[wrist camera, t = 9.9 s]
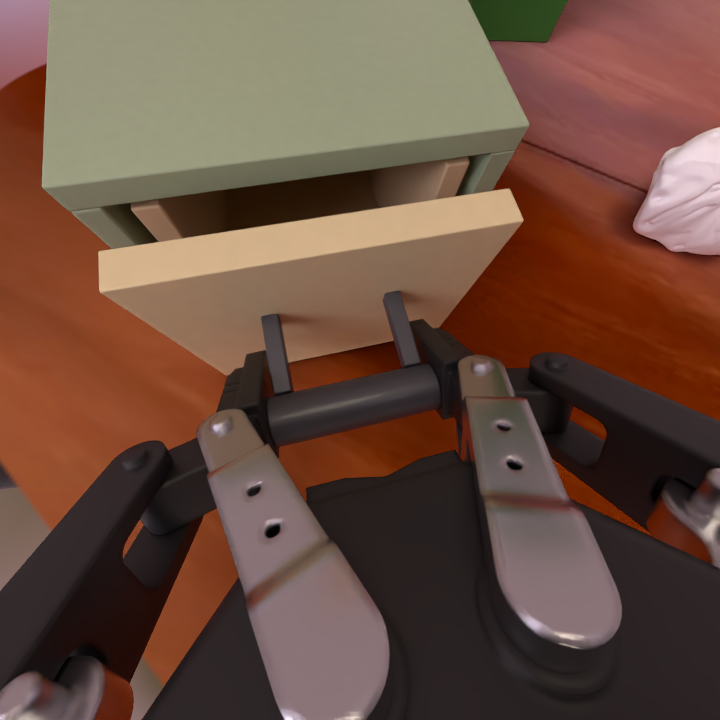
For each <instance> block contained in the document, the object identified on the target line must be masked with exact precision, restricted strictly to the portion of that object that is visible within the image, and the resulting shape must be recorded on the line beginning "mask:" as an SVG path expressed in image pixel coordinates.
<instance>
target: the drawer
mask: <svg viewBox="0 0 720 720" xmlns="http://www.w3.org/2000/svg"><path fill="white" fill-rule="evenodd" d="M468 166H469V159H468V156H467V157H460V158H452V159H445V160H438V161H431V162H423V163H416V164H409V165H402V166H394V167H387V168H380V169H372V170H365V171H358V172H351V173H343V174H336V175H329V176H322V177H314V178H307V179H300V180H293V181H285V182H278V183H271V184H264V185H256V186H249V187H242V188H235V189H227V190H220V191H213V192H206V193H198V194H191V195H184V196H176V197H169V198H162V199H155V200H147V201H140V202H133V203H131V210H132V212H133V213H134V214H135V215H136V216H137V217H138V218H139V220H140V221H141V222H142V223H143V224H144V225H145V226H146V228H147V229H148V230H149V231H150V232H151V233H152V234H153V236H154V237H155V238H156V239H157V240H158V241H159V242H155V243H149V244H142V245H136V246H129V247H123V248H116V249H110V250H103V251H99V291H100V293H102V294H103V295H105V296H106V297H108V298H109V299H111V300H112V301H114V302H115V303H117V304H118V305H120V306H121V307H123V308H124V309H126V310H127V311H129V312H131V313H132V314H134V315H135V316H137V317H138V318H140V319H141V320H143V321H144V322H146V323H147V324H149V325H150V326H152V327H153V328H155V329H156V330H158V331H159V332H161V333H162V334H164V335H165V336H167V337H169V338H170V339H172V340H173V341H175V342H176V343H178V344H179V345H181V346H182V347H184V348H185V349H187V350H188V351H190V352H191V353H193V354H194V355H196V356H197V357H199V358H200V359H202V360H203V361H205V362H207V363H208V364H210V365H211V366H213V367H214V368H216V369H217V370H219V371H220V372H222V373H223V374H225V375H230V374H231V373H232V372H233V371H234V370H235V369H237V368H242V367H243V366H244V362H245V358H246V354H248V353H253V352H258V351H263V350H266V352H267V358H268V365H269V371H270V377H271V383H272V389H273V394H274V395H275V396H273V397H269V398H268V399H267V405H266V409H267V419H268V425H269V429H270V433H271V437H272V439H273V442H274V444H275V445H276V446H277V447H281V446H285V445H289V444H293V443H298V442H302V441H306V440H310V439H314V438H319V437H323V436H327V435H331V434H335V433H340V432H344V431H348V430H352V429H356V428H361V427H365V426H369V425H373V424H377V423H382V422H386V421H390V420H394V419H398V418H403V417H407V416H411V415H415V414H419V413H424V412H428V411H432V410H436V409H438V408H439V407H440V405H441V390H440V385H439V381H438V378H437V376H436V373H435V371H434V370H433V368H432V367H431V366H430V365H429V364H427V363H424V364H420V363H421V360H420V357H419V353H418V350H417V347H416V343H415V340H414V336H413V333H412V330H411V326H410V323H409V321H414V320H419V319H424V320H425V321H426V322H427V323H428V324H429V325H430V326H431V327H432V328H439V327H440V326H441V324H442V323H443V322H444V321H445V319H446V318H447V317H448V316H449V314H450V313H451V312H452V311H453V309H454V308H455V307H456V306H457V304H458V303H459V302H460V300H461V299H462V298H463V297H464V295H465V294H466V293H467V292H468V290H469V289H470V288H471V287H472V285H473V284H474V283H475V282H476V280H477V279H478V278H479V277H480V275H481V274H482V273H483V272H484V270H485V269H486V268H487V267H488V265H489V264H490V263H491V262H492V260H493V259H494V258H495V256H496V255H497V254H498V253H499V251H500V250H501V249H502V248H503V246H504V245H505V244H506V243H507V241H508V240H509V239H510V238H511V236H512V235H513V234H514V233H515V231H516V230H517V229H518V228H519V226H520V225H521V224H522V223H523V221H524V219H523V217H522V215H521V213H520V210H519V208H518V206H517V204H516V201H515V199H514V197H513V195H512V192H511V190H510V189H509V188H507V189H501V190H494V191H488V192H481V193H475V194H468V195H462V196H455V195H456V193H457V190H458V188H459V186H460V184H461V181H462V179H463V177H464V175H465V172H466V170H467V168H468ZM390 341H394V343H395V347H396V350H397V354H398V357H399V361H400V364H401V369H397V370H392V371H388V372H383V373H378V374H374V375H369V376H365V377H360V378H356V379H351V380H346V381H342V382H337V383H333V384H328V385H324V386H319V387H314V388H310V389H305V390H301V391H296V392H294V390H293V384H292V379H291V373H290V368H289V362H294V361H298V360H303V359H308V358H313V357H318V356H323V355H327V354H332V353H337V352H342V351H347V350H352V349H356V348H361V347H366V346H371V345H376V344H381V343H385V342H390ZM419 364H420V365H419Z"/></svg>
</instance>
